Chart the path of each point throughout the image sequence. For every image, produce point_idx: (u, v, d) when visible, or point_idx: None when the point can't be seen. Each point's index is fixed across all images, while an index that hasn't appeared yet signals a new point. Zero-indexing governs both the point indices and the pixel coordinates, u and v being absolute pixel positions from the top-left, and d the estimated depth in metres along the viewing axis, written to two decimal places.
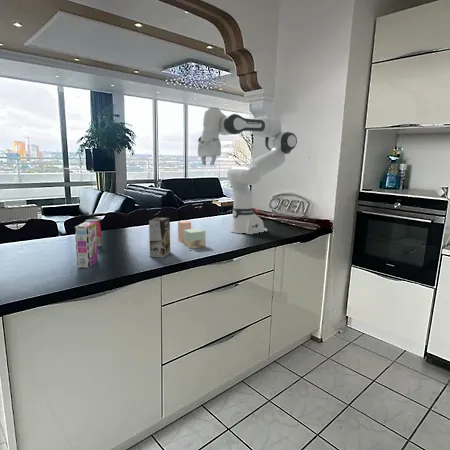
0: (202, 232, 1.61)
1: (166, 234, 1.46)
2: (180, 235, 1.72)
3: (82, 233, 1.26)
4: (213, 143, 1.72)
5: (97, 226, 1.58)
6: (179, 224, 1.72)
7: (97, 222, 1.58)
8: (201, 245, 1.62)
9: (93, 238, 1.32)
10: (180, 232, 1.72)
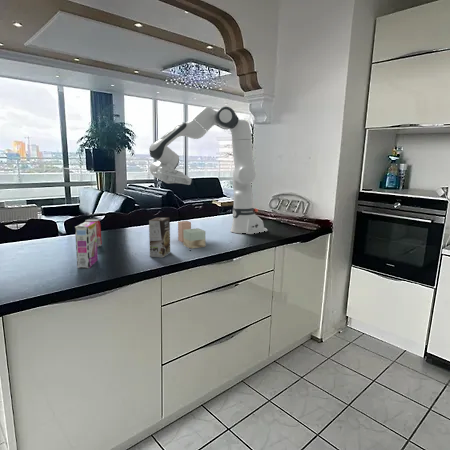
0: (202, 232, 1.61)
1: (166, 234, 1.46)
2: (180, 235, 1.72)
3: (82, 233, 1.26)
4: None
5: (97, 226, 1.58)
6: (179, 224, 1.72)
7: (97, 222, 1.58)
8: (201, 245, 1.62)
9: (93, 238, 1.32)
10: (180, 232, 1.72)
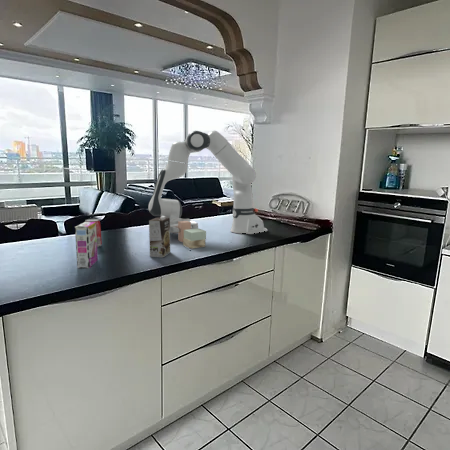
0: (203, 232, 1.61)
1: (166, 234, 1.46)
2: (180, 235, 1.72)
3: (82, 233, 1.26)
4: None
5: (97, 226, 1.58)
6: (179, 224, 1.72)
7: (97, 222, 1.58)
8: (201, 245, 1.62)
9: (93, 238, 1.32)
10: (180, 232, 1.72)
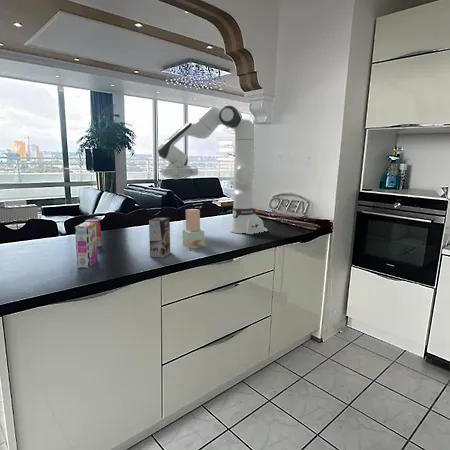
0: (201, 232, 1.60)
1: (166, 234, 1.46)
2: (188, 224, 1.61)
3: (82, 233, 1.26)
4: None
5: (97, 226, 1.58)
6: (187, 212, 1.61)
7: (97, 222, 1.58)
8: (200, 245, 1.61)
9: (93, 238, 1.32)
10: (188, 220, 1.60)
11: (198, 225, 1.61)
